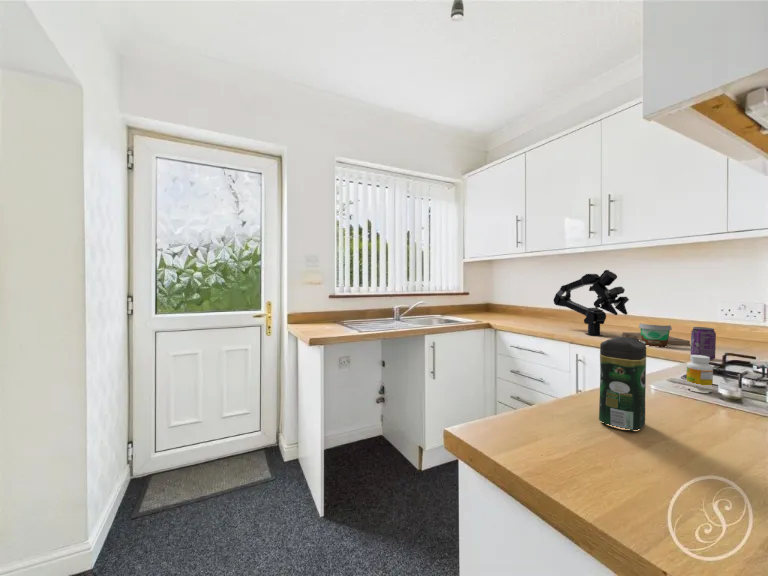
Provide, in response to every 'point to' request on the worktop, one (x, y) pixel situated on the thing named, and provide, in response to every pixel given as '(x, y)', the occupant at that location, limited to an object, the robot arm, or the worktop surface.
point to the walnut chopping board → (670, 340)
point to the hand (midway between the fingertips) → (621, 314)
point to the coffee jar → (622, 382)
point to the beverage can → (703, 342)
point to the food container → (655, 334)
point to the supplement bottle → (700, 370)
